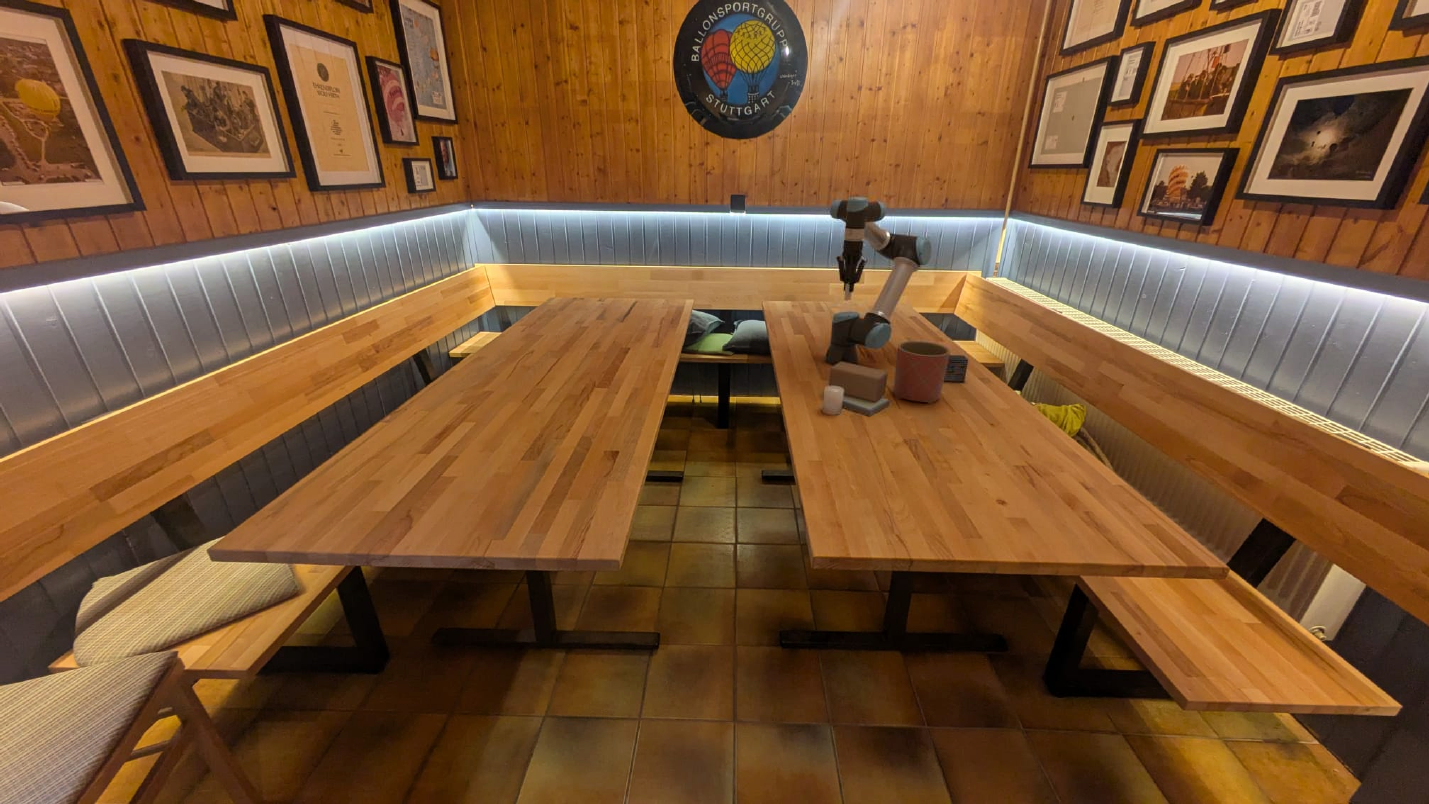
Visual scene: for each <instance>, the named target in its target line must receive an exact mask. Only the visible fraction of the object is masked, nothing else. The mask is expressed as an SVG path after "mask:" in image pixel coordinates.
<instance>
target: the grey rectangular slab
mask: <svg viewBox="0 0 1429 804" xmlns="http://www.w3.org/2000/svg"><path fill="white" fill-rule="evenodd" d="M890 402H891V400H889V399H888V398H887V399H886V398H884V397H881V398H880V399H879V400H877V401H876V402H873V401H869V400H865V399H861V398H857V397H853V396H849V395H845V394H843V404H842V406H843V407H846V408H848V409H847V410H849V409H852V410H854V411H853V412H855V411H856V412H855V413H858V412H860V413H859V414H861V413H862V414H861V415H864V414H866V415H865V416H867V415H868V416H867V417H871V415H872V416H874V415H875V414H877V413H879V412H880V410H881V411H882V409H883V410H884V409H886V408H888V407H890ZM843 407H842V408H843ZM846 408H845V409H846ZM852 410H851V411H852ZM873 414H874V415H873Z"/></svg>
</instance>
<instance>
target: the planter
mask: <svg viewBox="0 0 1429 804" xmlns="http://www.w3.org/2000/svg"><path fill="white" fill-rule="evenodd" d="M949 355H951V350H950V349H949V348H948V347H947V346H945V345H944V344H939V343H937V342H932V341H925V340H924V341H923V340H908V341H903V342H900V343H899V344H898V345H897V352H896V361H895V368H894V369H895V370H894V380H893V390H892V391H893V393H894V396H895V397H896V398H897V399H898V400H899V399H900V400H901V399H904V400H908V401H913V402H920V403H922V402H923V403H924V402H925V403H927V404H928V405H929V404H930V405H931V404H933V403H935V402H937V401H938V400H939V399H940V397H941V393H942V389H943V386H944V382H943V381H944V377H945V373H946V368H947V364H948V359H949Z"/></svg>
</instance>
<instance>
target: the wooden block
mask: <svg viewBox="0 0 1429 804" xmlns="http://www.w3.org/2000/svg"><path fill="white" fill-rule="evenodd" d="M888 373H889V372H888V371H886V370H882V369H878V368H874V367H868V366H863V365H860V364H859V365H858V364H856V365H855V364H850V363H846V362H839V363H838V364H836V365H832V367H830V370H829V381H828V386H839V387H842V388H843V389H844V394H845V395H849V396H853V397H857V398H861V399H865V400H869V401H873V402H876V401H877V400H879V399H880V398H883V397H884V395H885V394H886V389H887V382H888Z"/></svg>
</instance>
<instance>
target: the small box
mask: <svg viewBox="0 0 1429 804" xmlns="http://www.w3.org/2000/svg"><path fill="white" fill-rule="evenodd" d="M968 364H969V358H967V357H966V356H965V355H964V354H963V355H960V354H949V359H948V364H947V368H946V373H945V377H944V381H943V383H962V384H965V381H966V374H967V370H968Z"/></svg>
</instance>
